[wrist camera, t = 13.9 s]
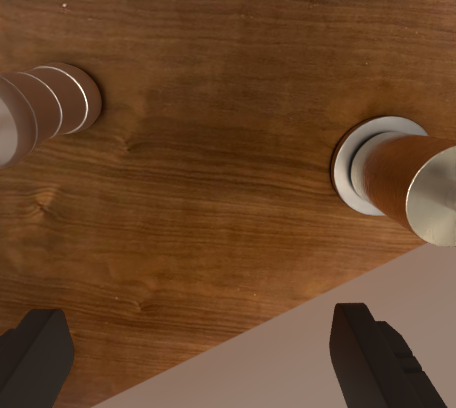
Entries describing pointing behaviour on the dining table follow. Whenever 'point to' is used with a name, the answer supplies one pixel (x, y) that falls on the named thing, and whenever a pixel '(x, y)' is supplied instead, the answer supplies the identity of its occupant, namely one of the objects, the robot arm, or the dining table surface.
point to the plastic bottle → (43, 107)
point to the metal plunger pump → (399, 176)
